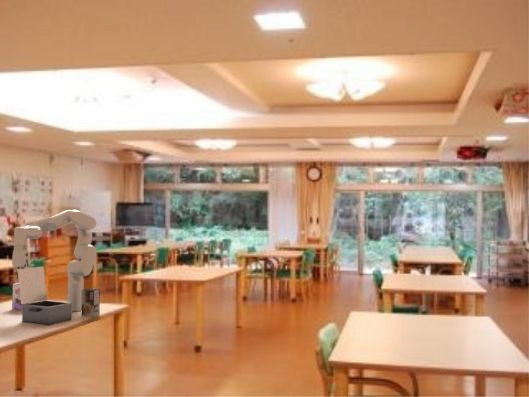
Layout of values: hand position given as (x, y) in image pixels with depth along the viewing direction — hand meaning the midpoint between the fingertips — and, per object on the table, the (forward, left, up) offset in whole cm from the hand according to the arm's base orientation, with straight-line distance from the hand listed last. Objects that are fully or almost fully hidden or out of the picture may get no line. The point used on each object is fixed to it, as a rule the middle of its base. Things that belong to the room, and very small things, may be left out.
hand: (20, 278), depth 360 cm
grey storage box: (0, +22, -23) cm, 32 cm away
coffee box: (-25, +32, -23) cm, 47 cm away
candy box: (-21, -20, -23) cm, 37 cm away
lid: (0, +11, -3) cm, 11 cm away
